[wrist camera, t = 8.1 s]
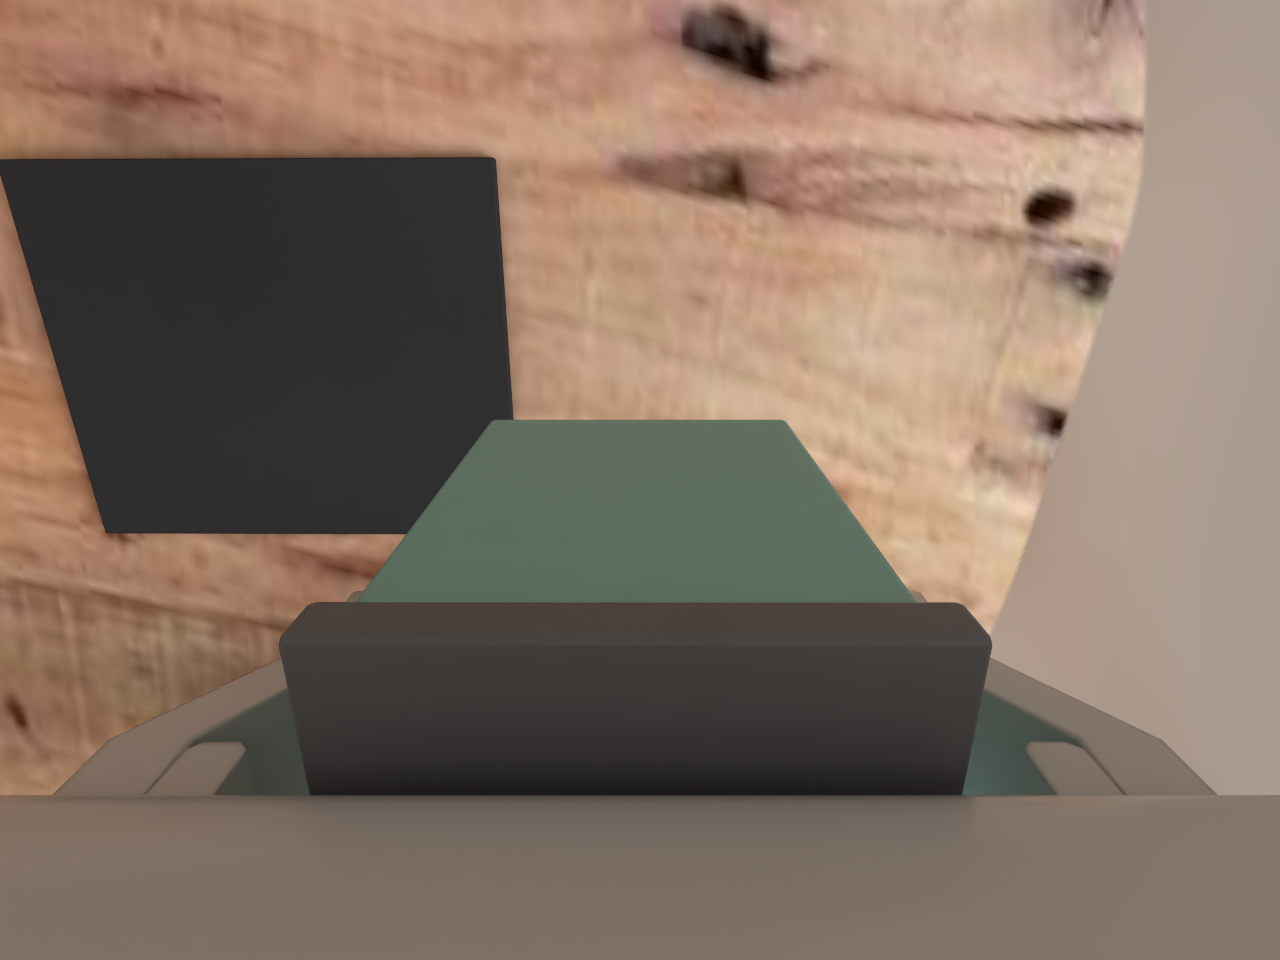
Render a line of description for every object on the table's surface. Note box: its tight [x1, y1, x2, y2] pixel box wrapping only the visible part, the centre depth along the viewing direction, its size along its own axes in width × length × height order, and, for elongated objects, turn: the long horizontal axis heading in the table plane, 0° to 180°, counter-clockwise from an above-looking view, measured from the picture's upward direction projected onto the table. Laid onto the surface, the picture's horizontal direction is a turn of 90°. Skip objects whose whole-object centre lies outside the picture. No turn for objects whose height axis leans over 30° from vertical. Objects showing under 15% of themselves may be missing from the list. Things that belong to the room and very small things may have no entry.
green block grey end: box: [279, 420, 992, 795], centre depth 9 cm, size 5×5×7 cm
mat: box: [0, 157, 513, 534], centre depth 26 cm, size 17×14×1 cm
